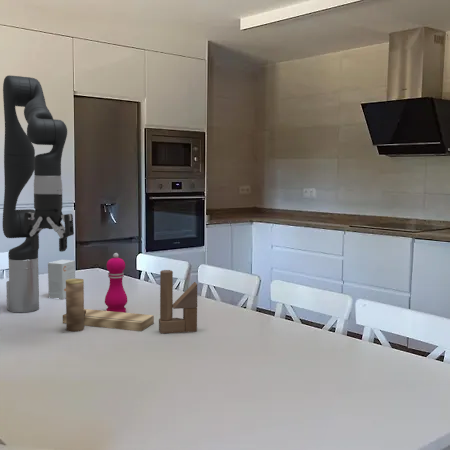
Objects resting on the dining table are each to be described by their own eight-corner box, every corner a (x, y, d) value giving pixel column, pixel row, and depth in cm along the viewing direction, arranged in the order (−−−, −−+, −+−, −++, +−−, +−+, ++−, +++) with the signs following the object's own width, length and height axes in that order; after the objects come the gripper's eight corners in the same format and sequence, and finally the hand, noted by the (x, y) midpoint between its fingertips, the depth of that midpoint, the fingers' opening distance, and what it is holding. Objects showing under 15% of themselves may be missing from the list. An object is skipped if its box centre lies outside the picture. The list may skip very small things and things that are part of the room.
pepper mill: (130, 311, 187) (129, 251, 185) (124, 317, 180) (123, 254, 178) (108, 310, 188) (108, 251, 186) (101, 316, 180) (101, 254, 178)
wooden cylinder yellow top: (63, 330, 164) (62, 281, 162) (77, 323, 171) (76, 276, 170) (78, 332, 162) (77, 282, 161) (92, 325, 170) (91, 277, 168)
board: (62, 323, 172) (62, 314, 171) (78, 316, 180) (78, 308, 180) (141, 331, 164) (141, 322, 164) (153, 323, 173) (153, 314, 173)
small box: (61, 293, 212) (61, 259, 211) (76, 295, 210) (75, 260, 209) (47, 298, 205) (47, 262, 203) (62, 299, 202) (62, 263, 201)
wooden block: (197, 331, 165) (197, 270, 163) (160, 334, 162) (160, 272, 160) (194, 328, 168) (195, 268, 166) (158, 330, 165) (158, 269, 164)
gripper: (17, 192, 154) (18, 250, 156) (63, 193, 150) (64, 253, 152) (33, 191, 161) (34, 247, 163) (78, 192, 158) (78, 250, 159)
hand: (49, 250), depth 158 cm, fingers open, 8 cm apart
